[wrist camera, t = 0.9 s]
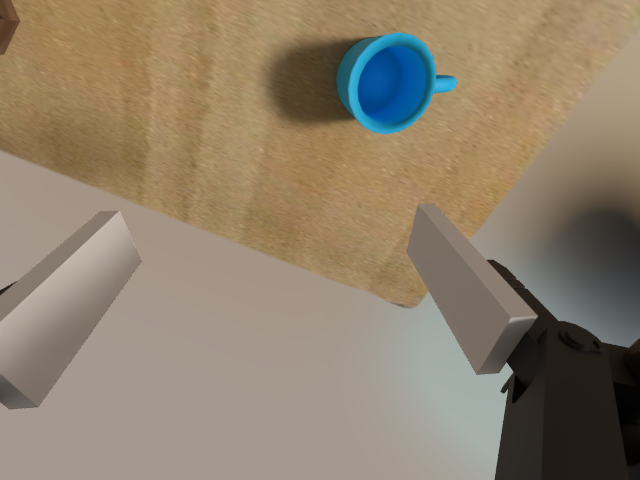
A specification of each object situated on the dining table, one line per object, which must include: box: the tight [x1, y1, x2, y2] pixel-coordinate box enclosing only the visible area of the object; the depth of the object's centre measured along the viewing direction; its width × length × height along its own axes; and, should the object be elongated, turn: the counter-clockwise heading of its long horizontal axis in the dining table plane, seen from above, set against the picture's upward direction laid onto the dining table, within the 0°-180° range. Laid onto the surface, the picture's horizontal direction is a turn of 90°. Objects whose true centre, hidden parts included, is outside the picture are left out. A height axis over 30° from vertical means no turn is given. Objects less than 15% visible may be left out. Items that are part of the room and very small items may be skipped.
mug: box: [336, 33, 457, 134], centre depth 29 cm, size 12×8×8 cm
